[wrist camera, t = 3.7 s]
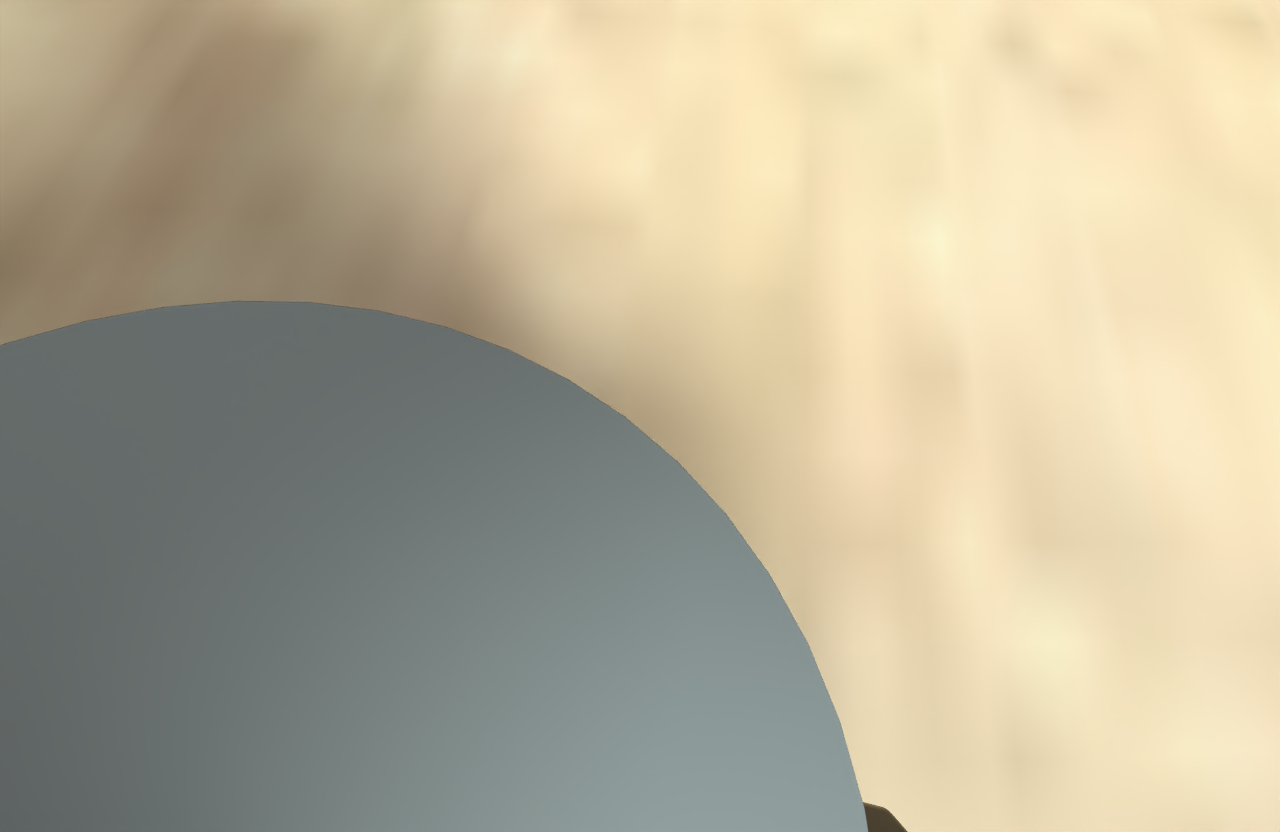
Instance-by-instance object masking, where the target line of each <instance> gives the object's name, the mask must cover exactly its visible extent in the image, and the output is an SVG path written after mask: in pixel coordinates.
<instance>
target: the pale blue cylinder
mask: <svg viewBox="0 0 1280 832" xmlns="http://www.w3.org/2000/svg"><path fill="white" fill-rule="evenodd" d="M0 832H868V827H867V821H866V815H865V809H864V805H863V802H862V798H861V795H860V791H859V788H858V784H857V780H856V777H855V773H854V770H853V766H852V763H851V759H850V755H849V752H848V748H847V745H846V741H845V738H844V734H843V731H842V727H841V723H840V721H839V718H838V716H837V713H836V711H835V708H834V706H833V703H832V701H831V698H830V696H829V694H828V691H827V689H826V686H825V684H824V681H823V679H822V676H821V674H820V672H819V669H818V667H817V664H816V662H815V659H814V657H813V654H812V652H811V650H810V647H809V645H808V643H807V641H806V639H805V637H804V635H803V634H802V632H801V630H800V628H799V626H798V625H797V623H796V621H795V619H794V617H793V616H792V614H791V612H790V610H789V608H788V606H787V605H786V603H785V601H784V599H783V597H782V596H781V594H780V592H779V590H778V588H777V587H776V585H775V583H774V581H773V579H772V578H771V576H770V574H769V573H768V571H767V570H766V569H765V567H764V566H763V564H762V563H761V562H760V560H759V559H758V558H757V556H756V555H755V553H754V552H753V551H752V549H751V548H750V546H749V545H748V544H747V542H746V541H745V539H744V538H743V537H742V535H741V534H740V533H739V531H738V530H737V528H736V527H735V526H734V524H733V523H732V521H731V520H730V519H729V517H728V516H727V515H726V513H725V512H724V511H723V510H722V509H721V508H720V507H719V506H718V505H717V504H716V503H715V501H714V500H713V499H712V498H711V497H710V496H709V495H708V494H707V493H706V492H705V491H704V490H703V488H702V487H701V486H700V485H699V484H698V483H697V482H696V481H695V480H694V479H693V478H692V477H691V475H690V474H689V473H688V472H687V471H686V470H685V469H684V468H683V467H682V466H681V465H680V464H679V462H678V461H676V460H675V459H674V458H673V457H672V456H671V455H669V454H668V453H667V452H666V451H665V450H663V449H662V448H661V447H660V446H659V445H658V444H656V443H655V442H654V441H653V440H652V439H650V438H649V437H648V436H647V435H646V434H645V433H643V432H642V431H641V430H640V429H639V428H638V427H636V426H635V425H634V424H633V423H632V422H630V421H629V420H628V419H627V418H626V417H624V416H623V415H621V414H620V413H618V412H617V411H615V410H614V409H612V408H611V407H609V406H608V405H606V404H605V403H603V402H602V401H600V400H599V399H597V398H596V397H594V396H593V395H591V394H590V393H588V392H586V391H585V390H583V389H582V388H580V387H579V386H577V385H576V384H574V383H573V382H571V381H570V380H568V379H566V378H564V377H562V376H560V375H558V374H556V373H554V372H552V371H550V370H548V369H546V368H544V367H542V366H540V365H538V364H536V363H534V362H532V361H530V360H528V359H526V358H524V357H522V356H520V355H518V354H516V353H514V352H512V351H510V350H508V349H505V348H503V347H500V346H497V345H494V344H492V343H489V342H486V341H483V340H480V339H478V338H475V337H472V336H469V335H467V334H464V333H461V332H458V331H456V330H453V329H450V328H447V327H444V326H440V325H436V324H432V323H427V322H423V321H419V320H415V319H410V318H406V317H402V316H398V315H394V314H389V313H385V312H381V311H375V310H367V309H359V308H351V307H343V306H335V305H327V304H319V303H311V302H264V301H232V302H219V303H207V304H195V305H183V306H171V307H161V308H156V309H150V310H145V311H139V312H133V313H128V314H122V315H117V316H111V317H106V318H100V319H95V320H89V321H85V322H81V323H77V324H74V325H70V326H67V327H63V328H59V329H56V330H52V331H49V332H45V333H42V334H38V335H34V336H31V337H27V338H24V339H20V340H17V341H13V342H9V343H6V344H3V345H1V346H0Z"/></svg>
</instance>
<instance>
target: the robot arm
mask: <svg viewBox="0 0 1280 832" xmlns="http://www.w3.org/2000/svg"><path fill="white" fill-rule="evenodd" d="M863 805H864V809H865V815H866V821H867V827H868V832H907V831H906V829H905V828H904V827H903V826H902V825H901V824H900V823H899V821H898V820H897V819H896V818H895V817H894V816H893V815H892V814H891V813H890V812H889V811H888V810H887V809H886V808H883V807H880V806H876V805H872V804H868V803H864V802H863Z"/></svg>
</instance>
